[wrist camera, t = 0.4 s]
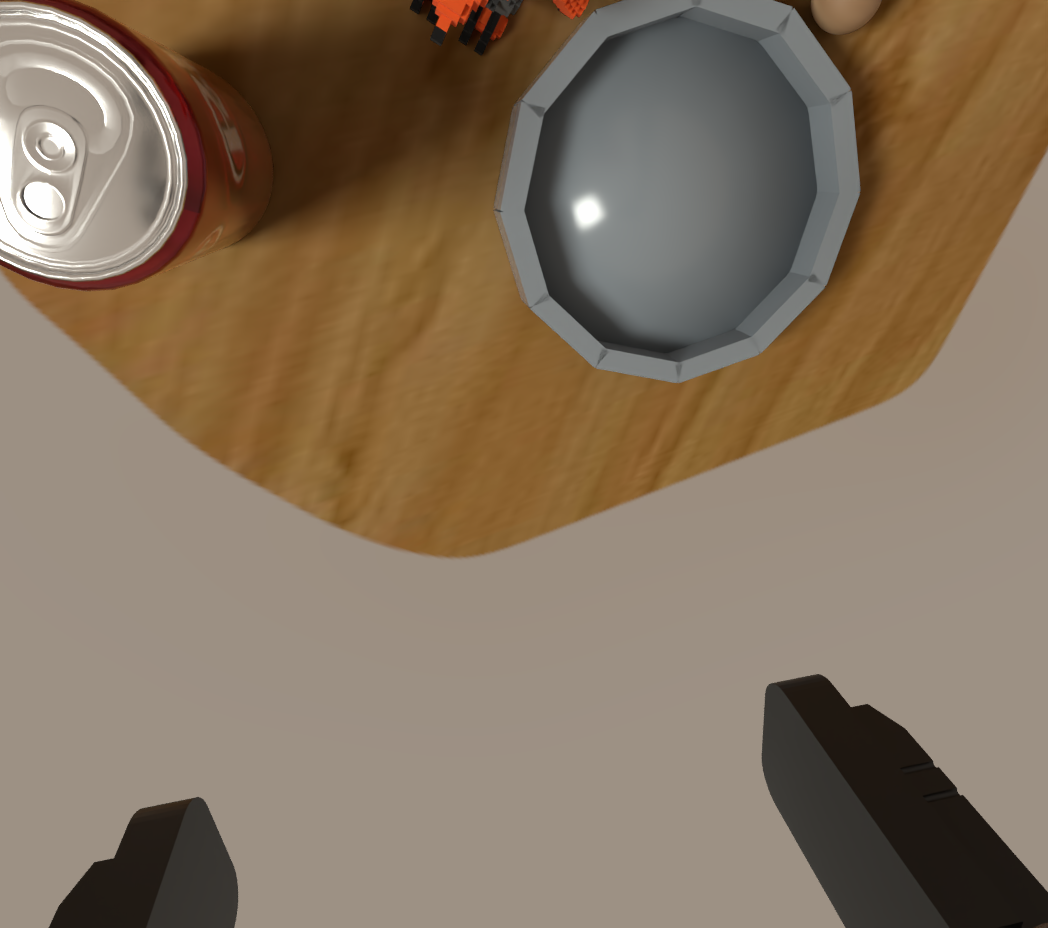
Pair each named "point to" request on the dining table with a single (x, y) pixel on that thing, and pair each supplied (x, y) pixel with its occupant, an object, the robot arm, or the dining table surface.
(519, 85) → the dining table surface
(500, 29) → the toy animal
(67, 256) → the soda can
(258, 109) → the dining table surface
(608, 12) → the dish
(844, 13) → the bead pile
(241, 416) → the dining table surface
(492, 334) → the dining table surface
